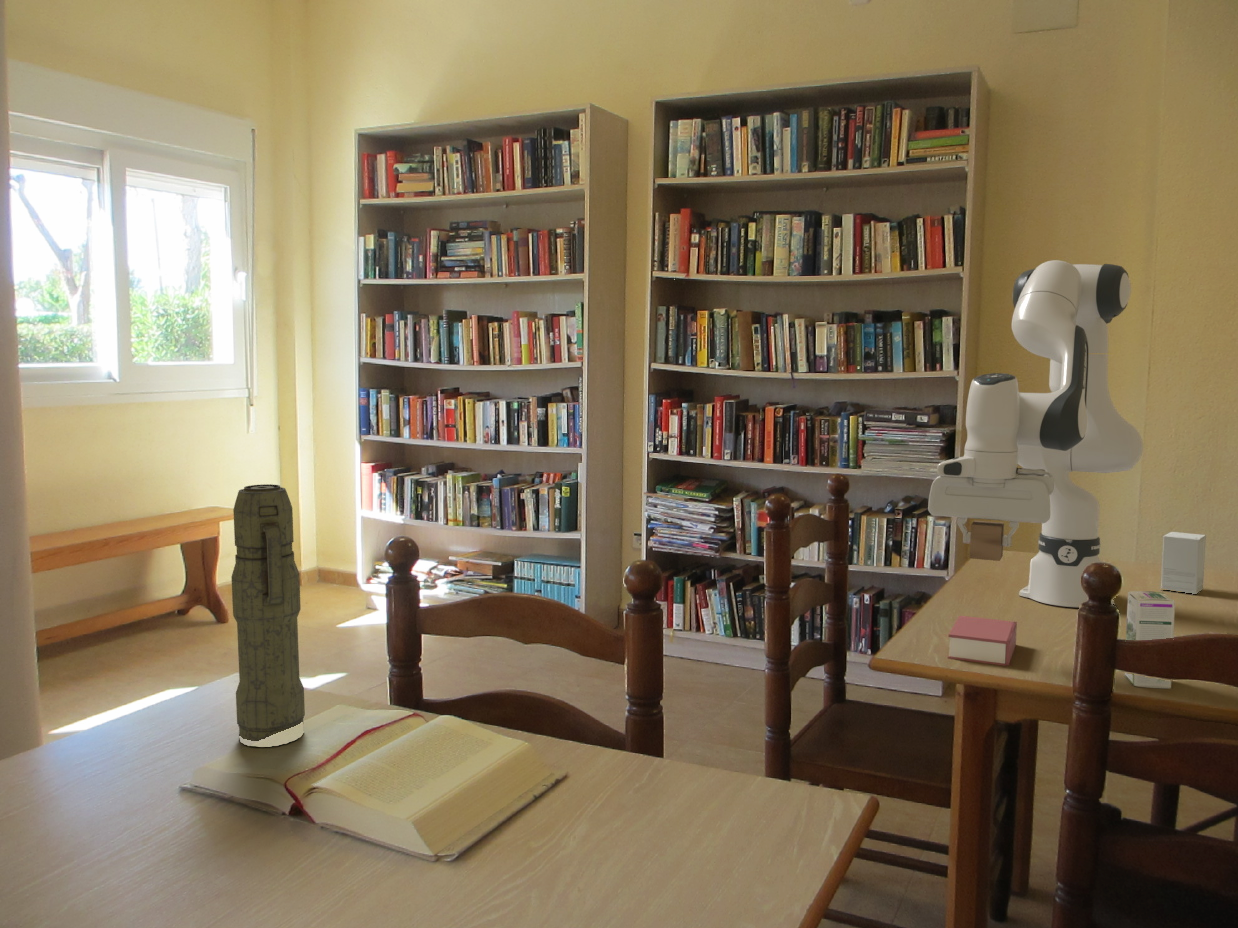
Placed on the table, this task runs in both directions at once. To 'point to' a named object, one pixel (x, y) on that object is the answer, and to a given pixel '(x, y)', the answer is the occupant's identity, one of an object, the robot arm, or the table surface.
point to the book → (982, 640)
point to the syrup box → (1149, 626)
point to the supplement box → (1183, 562)
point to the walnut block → (986, 540)
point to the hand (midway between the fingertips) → (986, 544)
